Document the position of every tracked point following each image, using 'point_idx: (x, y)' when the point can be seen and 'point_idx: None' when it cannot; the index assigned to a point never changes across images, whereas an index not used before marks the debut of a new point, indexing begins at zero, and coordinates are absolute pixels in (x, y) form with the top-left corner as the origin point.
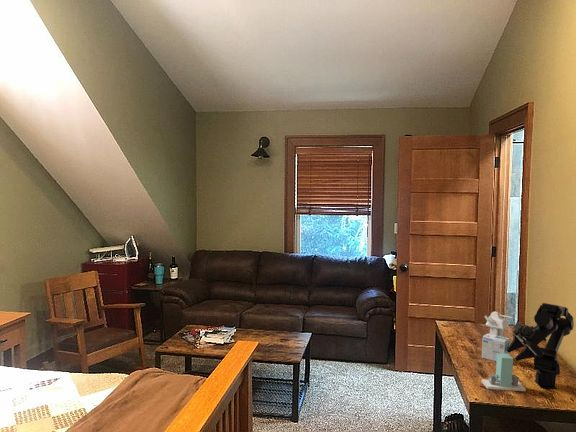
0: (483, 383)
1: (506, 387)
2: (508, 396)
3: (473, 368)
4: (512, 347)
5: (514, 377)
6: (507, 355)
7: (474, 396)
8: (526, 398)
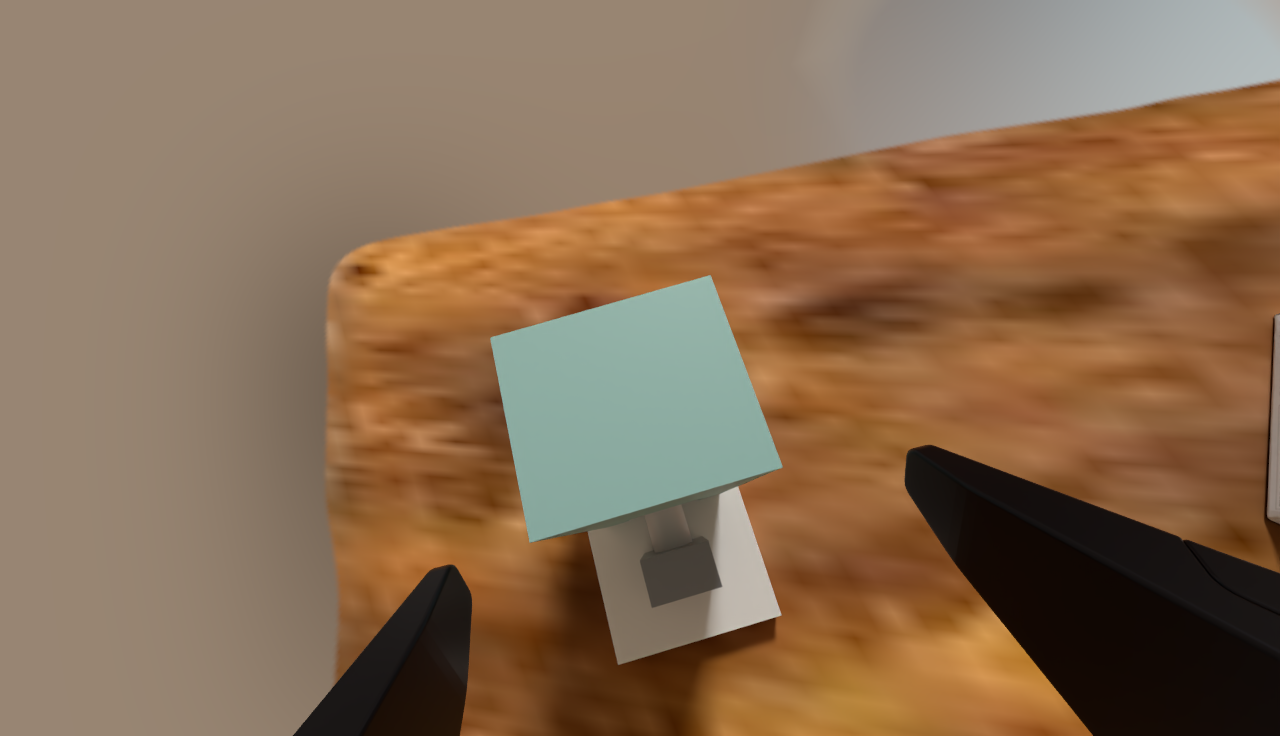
0: None
1: None
2: (462, 489)
3: (926, 254)
4: (1037, 580)
5: (643, 562)
6: (666, 443)
7: (396, 263)
8: None
